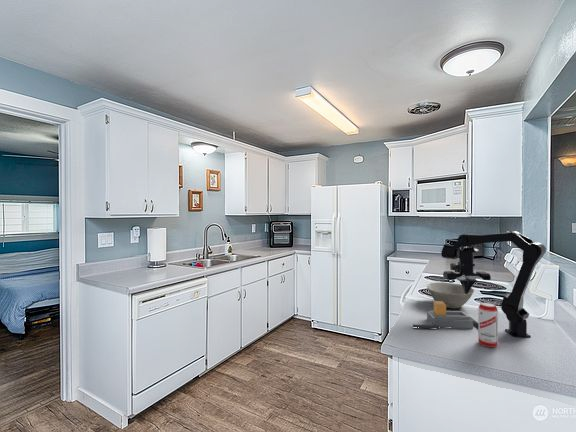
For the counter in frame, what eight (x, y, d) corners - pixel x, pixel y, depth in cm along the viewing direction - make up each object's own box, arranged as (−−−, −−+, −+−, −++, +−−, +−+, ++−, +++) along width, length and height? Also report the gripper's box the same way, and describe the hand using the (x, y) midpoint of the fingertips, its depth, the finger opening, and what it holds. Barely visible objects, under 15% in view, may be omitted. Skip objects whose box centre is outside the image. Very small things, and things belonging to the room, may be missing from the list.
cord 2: (482, 329, 130) (482, 325, 130) (478, 328, 131) (478, 325, 131) (470, 319, 141) (470, 316, 141) (466, 319, 141) (467, 316, 141)
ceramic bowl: (470, 302, 165) (470, 284, 165) (477, 316, 144) (477, 296, 144) (426, 297, 175) (426, 280, 174) (426, 310, 154) (426, 291, 153)
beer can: (479, 339, 121) (479, 300, 120) (498, 344, 117) (498, 303, 116) (477, 345, 116) (477, 304, 115) (496, 350, 112) (497, 308, 111)
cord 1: (439, 329, 131) (439, 326, 130) (413, 329, 132) (413, 325, 132) (438, 328, 132) (438, 324, 132) (412, 327, 133) (412, 324, 133)
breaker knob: (446, 316, 135) (446, 303, 135) (436, 316, 136) (436, 303, 135) (442, 313, 139) (442, 301, 139) (433, 313, 140) (433, 300, 139)
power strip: (473, 328, 131) (473, 318, 131) (434, 327, 133) (434, 317, 133) (462, 319, 141) (462, 310, 141) (427, 318, 143) (427, 309, 143)
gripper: (479, 257, 146) (478, 289, 147) (438, 257, 149) (438, 288, 149) (491, 262, 135) (491, 296, 136) (447, 261, 138) (447, 295, 138)
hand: (466, 293), depth 140 cm, fingers closed
